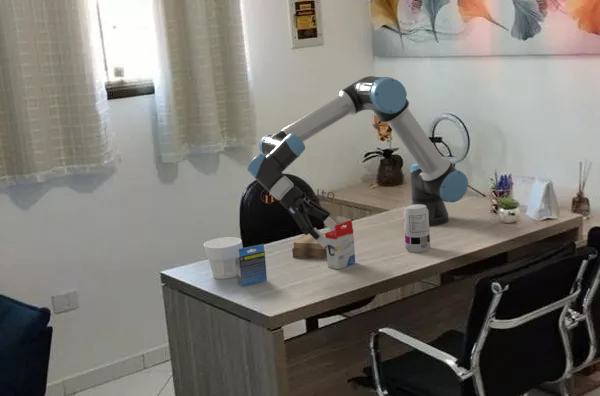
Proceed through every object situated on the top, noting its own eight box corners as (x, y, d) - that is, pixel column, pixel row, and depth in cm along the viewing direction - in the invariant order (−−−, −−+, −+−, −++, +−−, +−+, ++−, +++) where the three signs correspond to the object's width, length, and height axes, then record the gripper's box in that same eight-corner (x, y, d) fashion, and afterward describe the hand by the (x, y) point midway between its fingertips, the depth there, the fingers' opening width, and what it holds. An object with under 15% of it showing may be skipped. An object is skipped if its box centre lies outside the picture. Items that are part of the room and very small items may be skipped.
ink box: (344, 260, 267) (341, 217, 264) (355, 262, 264) (353, 219, 260) (327, 267, 261) (323, 223, 258) (338, 270, 258) (335, 225, 255)
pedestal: (340, 247, 283) (339, 233, 281) (329, 258, 271) (327, 244, 270) (305, 246, 287) (304, 232, 286) (292, 257, 275) (291, 243, 274)
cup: (213, 283, 254) (210, 250, 252) (202, 273, 266) (198, 241, 263) (250, 276, 259) (247, 243, 257) (237, 266, 270) (234, 234, 268)
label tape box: (262, 278, 256) (258, 240, 254) (267, 281, 253) (264, 243, 250) (236, 284, 252) (233, 246, 250) (242, 287, 249) (238, 249, 246)
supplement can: (400, 251, 272) (398, 208, 269) (414, 245, 278) (412, 202, 275) (420, 254, 267) (418, 210, 263) (434, 248, 272) (432, 205, 269)
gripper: (293, 192, 276) (338, 235, 273) (264, 210, 253) (313, 257, 251) (307, 177, 272) (352, 220, 270) (279, 194, 250) (328, 242, 248)
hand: (333, 238), depth 261 cm, fingers open, 13 cm apart
